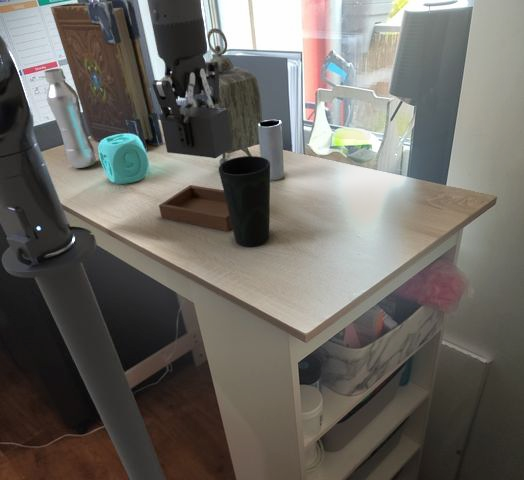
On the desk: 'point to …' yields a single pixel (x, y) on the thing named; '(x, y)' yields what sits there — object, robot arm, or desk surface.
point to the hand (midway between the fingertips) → (198, 140)
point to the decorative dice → (123, 158)
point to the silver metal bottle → (69, 120)
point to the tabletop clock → (237, 100)
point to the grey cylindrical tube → (272, 146)
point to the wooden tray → (198, 208)
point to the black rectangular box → (201, 133)
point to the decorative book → (108, 68)
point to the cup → (247, 198)
